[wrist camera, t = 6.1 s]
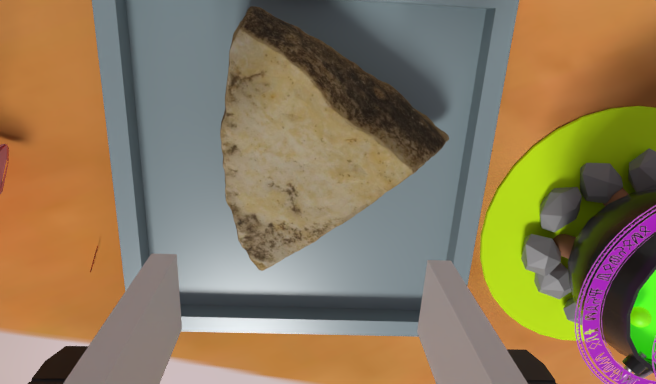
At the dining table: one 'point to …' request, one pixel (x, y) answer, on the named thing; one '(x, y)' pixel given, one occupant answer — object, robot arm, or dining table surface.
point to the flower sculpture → (0, 156)
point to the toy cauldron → (582, 239)
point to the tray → (209, 176)
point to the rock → (309, 138)
